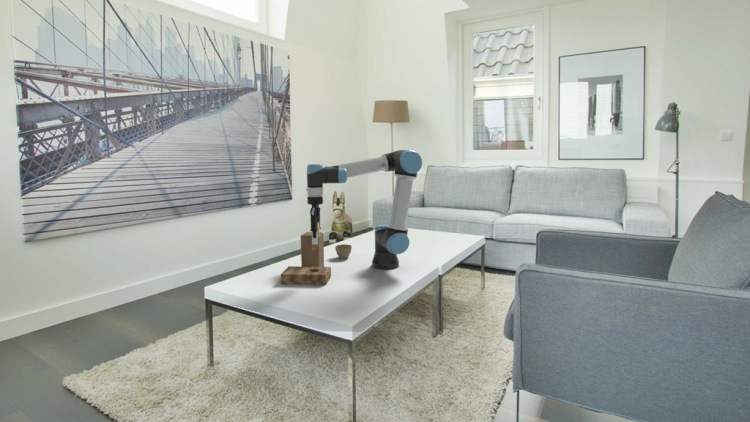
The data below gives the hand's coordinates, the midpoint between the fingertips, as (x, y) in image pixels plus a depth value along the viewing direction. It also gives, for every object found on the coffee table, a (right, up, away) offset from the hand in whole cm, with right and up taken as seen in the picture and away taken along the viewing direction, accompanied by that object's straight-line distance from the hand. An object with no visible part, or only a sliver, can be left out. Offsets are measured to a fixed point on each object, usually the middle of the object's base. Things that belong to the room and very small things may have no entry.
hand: (315, 243), depth 212 cm
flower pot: (+10, -13, +47) cm, 50 cm away
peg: (0, -4, +1) cm, 4 cm away
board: (-5, -19, +3) cm, 20 cm away
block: (-5, -16, +22) cm, 28 cm away
